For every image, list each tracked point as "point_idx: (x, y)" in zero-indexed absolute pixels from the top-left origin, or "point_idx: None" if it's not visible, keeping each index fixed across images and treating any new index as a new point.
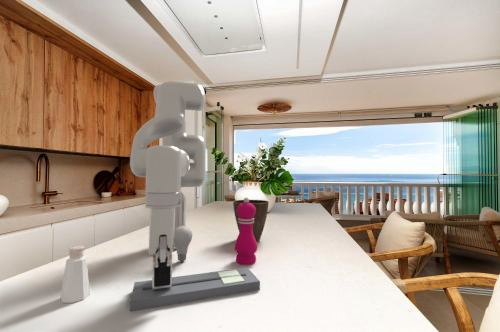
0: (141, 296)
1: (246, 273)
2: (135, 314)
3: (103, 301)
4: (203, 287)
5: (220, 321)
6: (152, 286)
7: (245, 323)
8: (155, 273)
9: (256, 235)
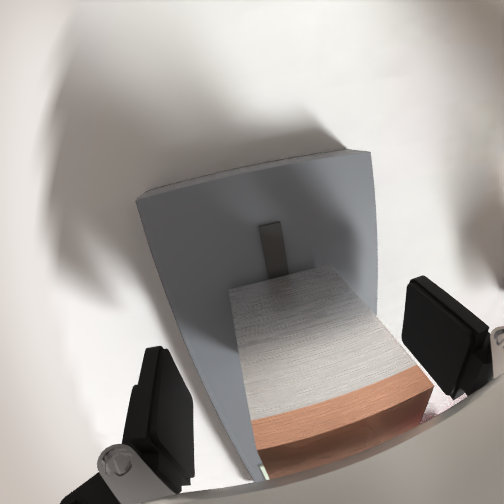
0: (180, 244)
1: None
2: (121, 225)
3: (259, 34)
4: (246, 436)
5: (117, 438)
6: (230, 299)
7: None
8: (136, 409)
9: None
